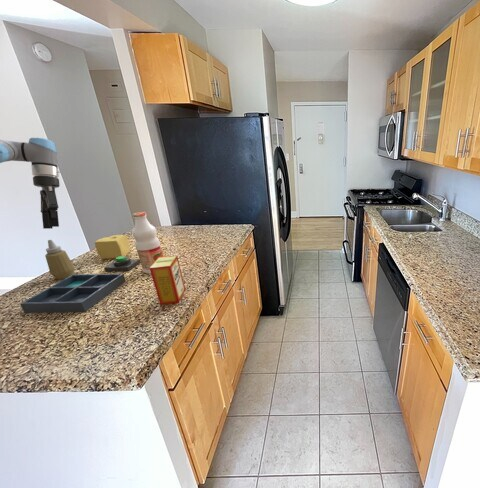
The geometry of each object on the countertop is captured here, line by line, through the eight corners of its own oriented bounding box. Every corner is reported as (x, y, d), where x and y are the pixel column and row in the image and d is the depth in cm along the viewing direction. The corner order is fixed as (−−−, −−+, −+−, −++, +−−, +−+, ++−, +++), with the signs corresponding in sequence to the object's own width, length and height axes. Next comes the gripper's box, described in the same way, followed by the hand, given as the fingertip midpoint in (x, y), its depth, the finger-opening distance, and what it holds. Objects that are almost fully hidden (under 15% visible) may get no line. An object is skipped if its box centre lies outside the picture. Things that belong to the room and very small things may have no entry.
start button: (115, 262, 124) (113, 259, 123) (120, 259, 127) (119, 255, 127) (122, 262, 124) (121, 258, 123) (127, 259, 127) (126, 255, 127)
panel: (105, 271, 123) (102, 264, 121) (118, 263, 131) (116, 256, 130) (128, 271, 123) (126, 263, 121) (140, 263, 131) (138, 255, 130)
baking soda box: (179, 302, 99) (169, 265, 93) (160, 304, 98) (149, 267, 92) (185, 289, 108) (177, 254, 102) (168, 291, 106) (158, 256, 100)
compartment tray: (24, 312, 94) (19, 303, 92) (76, 282, 114) (72, 274, 112) (85, 311, 94) (81, 302, 93) (126, 281, 114) (123, 273, 113)
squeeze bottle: (73, 271, 123) (58, 235, 117) (80, 275, 120) (65, 238, 113) (50, 278, 117) (33, 241, 110) (56, 283, 113) (39, 245, 106)
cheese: (111, 251, 144) (105, 235, 141) (132, 250, 146) (127, 233, 142) (99, 259, 135) (93, 242, 131) (122, 258, 137) (116, 240, 133)
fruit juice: (146, 267, 127) (130, 211, 117) (168, 263, 130) (154, 209, 120) (141, 275, 119) (123, 216, 108) (164, 272, 122) (148, 214, 111)
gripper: (65, 173, 104) (70, 225, 105) (53, 183, 119) (57, 229, 120) (37, 170, 98) (42, 225, 99) (28, 180, 113) (33, 229, 114)
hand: (50, 227), depth 109 cm, fingers open, 13 cm apart
